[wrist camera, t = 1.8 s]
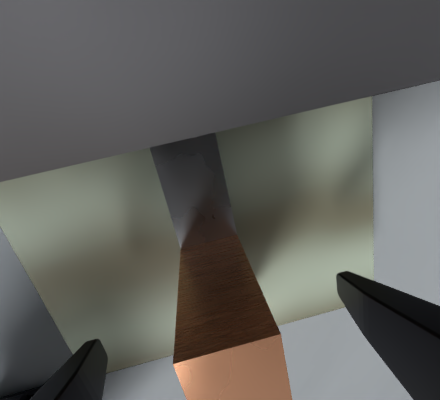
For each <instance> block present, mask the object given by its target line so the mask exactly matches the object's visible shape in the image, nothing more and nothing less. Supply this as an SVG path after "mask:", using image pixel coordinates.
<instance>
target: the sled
mask: <svg viewBox="0 0 440 400" xmlns="http://www.w3.org/2000/svg"><path fill="white" fill-rule="evenodd" d="M150 151H151V154H152V157H153V161H154V164H155V167H156V170H157V174H158V177H159V180H160V183H161V187H162V190H163V193H164V196H165V200H166V203H167V206H168V209H169V213H170V216H171V219H172V223H173V226H174V229H175V232H176V236H177V239H178V242H179V245H180V249H181V251H180V266H179V281H178V296H177V312H176V327H175V342H174V357H173V365H174V368H175V371H176V373H177V376H178V378H179V381H180V383H181V386H182V389H183V391H184V394H185V396H186V399H187V400H292V396H291V390H290V384H289V378H288V373H287V367H286V361H285V356H284V350H283V344H282V338H281V334H280V331H279V329H278V327H277V324H276V322H275V320H274V318H273V315H272V313H271V311H270V308H269V306H268V304H267V302H266V299H265V297H264V295H263V292H262V290H261V288H260V286H259V283H258V281H257V279H256V277H255V274H254V272H253V270H252V267H251V265H250V263H249V261H248V258H247V256H246V254H245V251H244V249H243V247H242V245H241V242H240V240H239V238H238V236H237V232H236V227H235V223H234V218H233V213H232V209H231V204H230V199H229V195H228V190H227V185H226V181H225V176H224V171H223V167H222V162H221V157H220V153H219V148H218V143H217V139H216V134H215V133H210V134H206V135H202V136H197V137H193V138H189V139H185V140H180V141H176V142H172V143H167V144H163V145H159V146H154V147H150Z"/></svg>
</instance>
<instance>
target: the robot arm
mask: <svg viewBox="0 0 440 400" xmlns="http://www.w3.org/2000/svg"><path fill="white" fill-rule="evenodd" d="M336 282H337V292H338V295H339V297H340V299H341V301H342V302H343V304H344V305H345V307H346V308H347V310H348V312H349V313H350V315H351V316H352V318H353V319H354V321H355V323H356V324H357V326H358V327H359V329H360V330H361V332H362V333H363V335H364V336H365V338H366V339H367V340H368V342H369V343H370V344H371V345H372V347H373V348H374V349H375V351H376V352H377V353H378V354H379V356H380V357H381V358H382V360H383V361H384V362H385V363H386V365H387V366H388V367H389V369H390V370H391V371H392V372H393V374H394V375H395V376H396V378H397V379H398V380H399V381H400V383H401V384H402V385H403V387H404V388H405V389H406V390H407V392H408V393H409V394H410V396H411V397H412V398H413V399H414V400H440V306H438V305H436V304H433V303H430V302H428V301H425V300H423V299H420V298H417V297H415V296H412V295H410V294H407V293H404V292H402V291H399V290H396V289H394V288H391V287H389V286H386V285H383V284H381V283H378V282H376V281H373V280H370V279H368V278H365V277H363V276H360V275H357V274H355V273H352V272H350V271H344V272H340V273H337V275H336ZM107 364H108V356H107V353H106V351H105V349H104V347H103V345H102V343H101V341H100V340H99V339H93V340H89V341H86V342H85V343H84V344H83V345H82V346H81V347H80V348H79V349H78V350H77V351H76V352H75V353H74V354H73V355H72V356H71V357H70V358H69V359H68V360H67V361H66V363H65V364H64V365H63V366H62V367H61V368H60V369H59V370H58V371H57V372H56V373H55V374H54V375H53V376H52V377H51V378H50V379H49V380H48V381H47V382H46V383H45V384H44V385H43V386H42V387H39V388H35V389H31V390H28V391H24V392H21V393H17V394H13V395H10V396H6V397H3V398H0V400H102V396H103V389H104V383H105V377H106V370H107Z"/></svg>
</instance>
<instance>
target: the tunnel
mask: <svg viewBox="0 0 440 400" xmlns="http://www.w3.org/2000/svg"><path fill="white" fill-rule="evenodd" d="M439 80H440V0H0V227H1V229H2V230H3V232H4V234H5V236H6V237H7V239H8V241H9V243H10V244H11V246H12V248H13V250H14V252H15V253H16V255H17V257H18V259H19V260H20V262H21V264H22V266H23V267H24V269H25V271H26V273H27V275H28V276H29V278H30V280H31V282H32V283H33V285H34V287H35V289H36V290H37V292H38V294H39V296H40V297H41V299H42V301H43V303H44V305H45V306H46V308H47V310H48V312H49V313H50V315H51V317H52V319H53V320H54V322H55V324H56V326H57V327H58V329H59V331H60V333H61V335H62V336H63V338H64V340H65V342H66V343H67V345H68V347H69V349H70V350H71V352H72V354H74V353H75V352H76V351H77V350H78V349H79V348H80V347H81V346H82V345H83V344H84V343H85V342H86V341H89V340H93V339H99V340H100V341H101V343H102V345H103V347H104V349H105V351H106V353H107V356H108V364H107V370H106V373H110V372H114V371H117V370H121V369H124V368H128V367H132V366H135V365H139V364H142V363H146V362H150V361H153V360H157V359H160V358H164V357H168V356H171V355H174V342H175V327H176V312H177V296H178V281H179V266H180V251H181V249H180V245H179V242H178V239H177V236H176V232H175V229H174V226H173V223H172V219H171V216H170V213H169V209H168V206H167V203H166V200H165V196H164V193H163V190H162V187H161V183H160V180H159V177H158V174H157V170H156V167H155V164H154V161H153V157H152V154H151V151H150V147H154V146H159V145H163V144H167V143H172V142H176V141H180V140H185V139H189V138H193V137H197V136H202V135H206V134H210V133H215V134H216V139H217V143H218V148H219V153H220V157H221V162H222V167H223V171H224V176H225V181H226V185H227V190H228V195H229V199H230V204H231V209H232V213H233V218H234V223H235V227H236V232H237V236H238V238H239V240H240V242H241V245H242V247H243V249H244V251H245V254H246V256H247V258H248V261H249V263H250V265H251V267H252V270H253V272H254V274H255V277H256V279H257V281H258V283H259V286H260V288H261V290H262V292H263V295H264V297H265V299H266V302H267V304H268V306H269V308H270V311H271V313H272V315H273V318H274V320H275V322H276V324H277V326H279V325H283V324H286V323H290V322H294V321H297V320H301V319H304V318H308V317H312V316H315V315H319V314H322V313H326V312H330V311H333V310H337V309H340V308H344V307H345V305H344V304H343V302H342V301H341V299H340V297H339V295H338V292H337V282H336V275H337V273H340V272H344V271H350V272H352V273H355V274H357V275H360V276H363V277H365V278H368V279H370V280H373V281H374V264H373V147H372V96H375V95H379V94H383V93H387V92H392V91H396V90H400V89H405V88H409V87H413V86H418V85H422V84H426V83H431V82H435V81H439Z"/></svg>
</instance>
